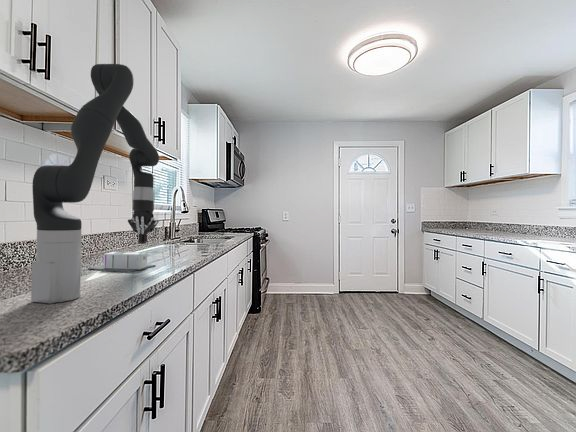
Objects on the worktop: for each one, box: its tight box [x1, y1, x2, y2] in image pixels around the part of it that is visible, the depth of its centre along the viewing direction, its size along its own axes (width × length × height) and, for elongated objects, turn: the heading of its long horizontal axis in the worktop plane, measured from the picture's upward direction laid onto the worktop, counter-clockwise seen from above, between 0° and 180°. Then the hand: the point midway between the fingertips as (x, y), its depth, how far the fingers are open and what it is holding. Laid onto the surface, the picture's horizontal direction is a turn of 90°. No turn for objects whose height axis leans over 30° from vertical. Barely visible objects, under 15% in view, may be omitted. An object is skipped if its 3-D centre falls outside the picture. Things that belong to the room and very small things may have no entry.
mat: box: [87, 263, 156, 273], centre depth 132 cm, size 16×18×1 cm
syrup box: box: [102, 251, 148, 270], centre depth 129 cm, size 6×6×14 cm
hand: (142, 243), depth 130 cm, fingers closed
